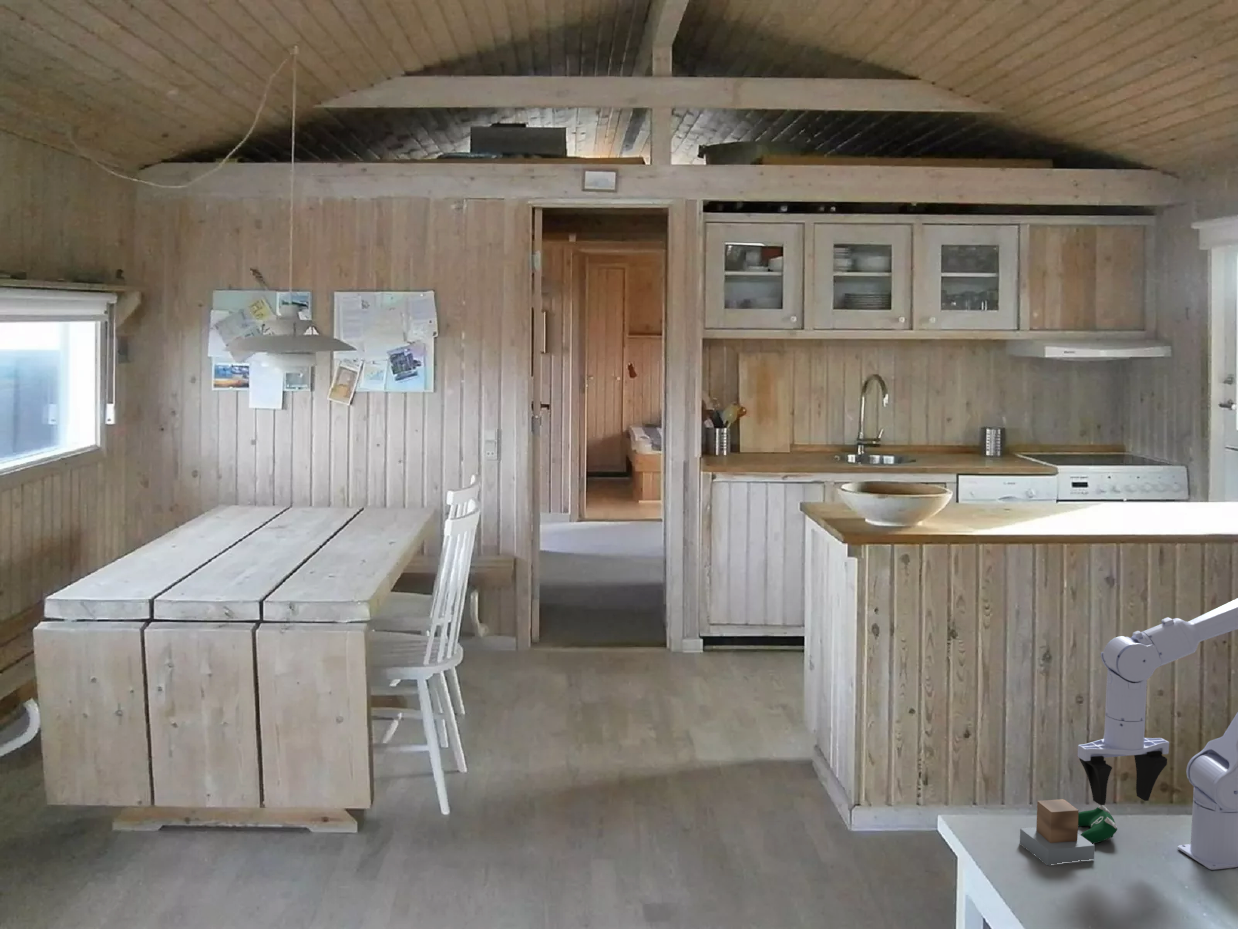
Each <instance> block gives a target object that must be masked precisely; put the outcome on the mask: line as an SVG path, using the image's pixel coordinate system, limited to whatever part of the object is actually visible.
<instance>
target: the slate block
mask: <svg viewBox="0 0 1238 929" xmlns="http://www.w3.org/2000/svg"><path fill="white" fill-rule="evenodd" d="M1020 844H1021V845H1020ZM1019 845H1020V846H1022V845H1023V846H1024V847H1025V848H1027V849H1028V850H1029V851H1030V852H1029V851H1028V850H1027V849H1026V850H1027V851H1028V852H1029V853H1031V852H1032V853H1033V854H1035V855H1036V856H1037V857H1038V858H1040V859H1041V860H1042V861H1043V862H1045V863H1046V864H1047V865H1051V864H1057V863H1062V862H1072V861H1078V860H1080V861H1081V860H1089V859H1094V860H1095V846H1096V845H1095V843H1093V844H1092V843H1091V842H1089V841H1088V840H1087V839H1085V838H1084V837H1082V836H1081V834H1080V833H1078V837H1077V841H1070V842H1057V843H1050V842H1049V841H1047V840H1046V839H1045V838H1044V837H1043V836H1042V835H1040V834H1039V833H1038V832H1037V831H1036V826H1034V827H1033V826H1031V827H1023V828H1022V827H1021V828H1020V830H1019ZM1023 846H1022V847H1023ZM1024 847H1023V848H1024ZM1025 848H1024V849H1025ZM1032 853H1031V854H1032ZM1033 854H1032V855H1033ZM1036 856H1035V857H1036ZM1037 857H1036V858H1037ZM1038 858H1037V859H1038ZM1041 860H1040V861H1041ZM1042 861H1041V862H1042ZM1043 862H1042V863H1043ZM1045 863H1044V864H1045ZM1046 864H1045V865H1046ZM1047 865H1046V866H1047ZM1051 866H1052V865H1051Z"/></svg>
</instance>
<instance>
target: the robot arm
mask: <svg viewBox="0 0 1238 929" xmlns="http://www.w3.org/2000/svg"><path fill="white" fill-rule="evenodd" d="M1237 630H1238V597H1237V598H1235V599H1233V600H1231V601H1228V602H1227V603H1225V604H1223V605H1220V606H1218V607H1217V608H1214V609H1212V610H1210V611H1208V612H1205V613H1203V614H1201V615H1199V616H1197V617H1195V618H1193V619H1191V620H1189V621H1186V620H1183V619H1182V618H1178V617H1175V618H1171V617H1169V616H1167V617H1165V618H1163V619H1161V623H1160V624H1158V625H1155V626H1152V627H1150V628H1148V629H1146V630H1142V631H1140V630H1136V631H1133V632H1132V635H1131V637H1129V636H1124V635H1121V636H1117V637H1116V636H1115V637H1114V638H1112V639H1111V640H1109V641H1108V642H1107V644H1105V646H1104V648H1103V651H1101V652H1100V659H1101V662H1102V663H1103V666H1104V667H1105V668H1106V669H1107V672H1106V688H1105V689H1106V690H1105V708H1104V732H1103V737H1102V738H1101V739H1098V740H1094V741H1091V742H1087V743H1084V744H1083V743H1082V744H1078V745H1077V757H1078V758H1079V759H1078V760H1079V761H1080V764H1081V765H1082V767H1083V769H1084V771H1085V774H1086V777H1087V779H1088V783H1089V785H1090V789H1091V795H1092V801H1093V802H1095V803H1096V804H1098V805H1099V806H1100V805H1103V806H1105V805H1106V801H1107V788H1108V783H1109V778H1110V775H1111V772H1112V770H1113V767H1112V766H1111V765H1110V764H1108V763H1106V762H1107V761H1106V760H1105V758H1114V757H1115V758H1116V757H1117V758H1119V757H1126V756H1127V757H1128V756H1134V762H1135V770H1136V783H1135V792H1136V797H1138V798H1140V800H1143V801H1144V802H1147V801H1150V798H1151V794H1152V791H1153V788H1154V787H1155V784H1156V781H1157V779H1158V777H1160V774H1161V772H1162V771H1163V770H1164V769H1165V767H1166V766H1167V765H1168V758H1167V757H1166V756H1164V755H1168V754H1169V751H1170V741H1168V740H1166V739H1165V738H1162V737H1153V738H1152V737H1145V732H1146V731H1145V730H1146V712H1147V711H1146V709H1147V695H1148V694H1147V691H1148V689H1147V688H1148V686H1147V684H1148V679H1149V678H1151V677H1152V676H1153V675H1154V672H1155V671H1156V669H1157V668H1159V667H1162V666H1164V665H1167V664H1170V663H1172V662H1174V661H1177V660H1180V659H1182V658H1185V657H1187V656H1189V655H1192V654H1195V652H1196V651H1197V649H1198V648H1199V644H1200V643H1201V642H1203V641H1207V640H1209V639H1212V638H1215V637H1218V636H1221V635H1224V634H1227V633H1229V632H1233V631H1237ZM1186 778H1187V780H1188V781H1189V783H1190V784H1191V786H1193V794H1192V810H1191V811H1192V812H1191V814H1192V816H1191V830H1190V843H1188V844H1179V845H1177V849H1178V850H1179V851H1180V852H1183V853H1184V854H1185V855H1187V856H1188V857H1190V858H1191V859H1193V860H1195V861H1196V862H1197V863H1199V864H1201V865H1202V866H1204V867H1205V868H1207V869H1209V870H1213V871H1215V870H1222V869H1233V868H1238V711H1237V712H1236V714H1235V716H1234V717H1233V718H1232V720H1231V722H1230V724H1228V727H1227V728H1226V730H1225V732H1224V733H1223V735H1222V736H1220V737H1218V738H1214V739H1211V740H1209V741H1208V742H1207V743H1206V745H1205V746H1204V748H1203V749H1202V750H1201V751H1199V752H1197V753H1196V754H1195V755H1194V756H1192V757H1191V758H1190V759H1189V761H1188V762H1187V766H1186Z"/></svg>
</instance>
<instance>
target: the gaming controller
mask: <svg viewBox="0 0 1238 929" xmlns="http://www.w3.org/2000/svg"><path fill="white" fill-rule="evenodd" d="M1078 827H1090V828H1089V829H1085V831H1083V832H1082V833H1081V834H1080V835H1081V836H1082V837H1084V838H1085V839H1087V840H1088V841H1089V842H1091V843H1093V844H1097V843H1100V842H1104V841H1106V840H1109V839H1110V838H1111V839H1112V838H1113V837H1114V835H1115V834H1116V833H1117V831H1118V826H1117V824H1116V821H1115V819H1114V817H1113V816H1112V814H1111V812H1110V810H1109V809H1108V808H1107V807H1106V806H1105V805H1099V806H1097V807H1096V808H1095V809H1090V810H1083V811H1078Z"/></svg>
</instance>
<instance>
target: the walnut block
mask: <svg viewBox="0 0 1238 929" xmlns="http://www.w3.org/2000/svg"><path fill="white" fill-rule="evenodd" d="M1036 802H1037V803H1036V805H1037V806H1036V826H1035V827H1036V831H1037V832H1038V833H1039V834H1040V835H1042V836H1043V837H1044V838H1045V839H1046V840H1047V841H1049V842H1050V843H1057V842H1070V841H1077V837H1078V834H1079V833H1078V831H1079V830H1078V829H1079V826H1078V813H1079V812H1080V811H1079V809H1078V808H1076V807H1075V806H1073V805H1072V804H1071V803H1070V802H1068V800H1065V799H1063V798H1061V799H1048V800H1047V799H1045V800H1044V799H1043V800H1036Z"/></svg>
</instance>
